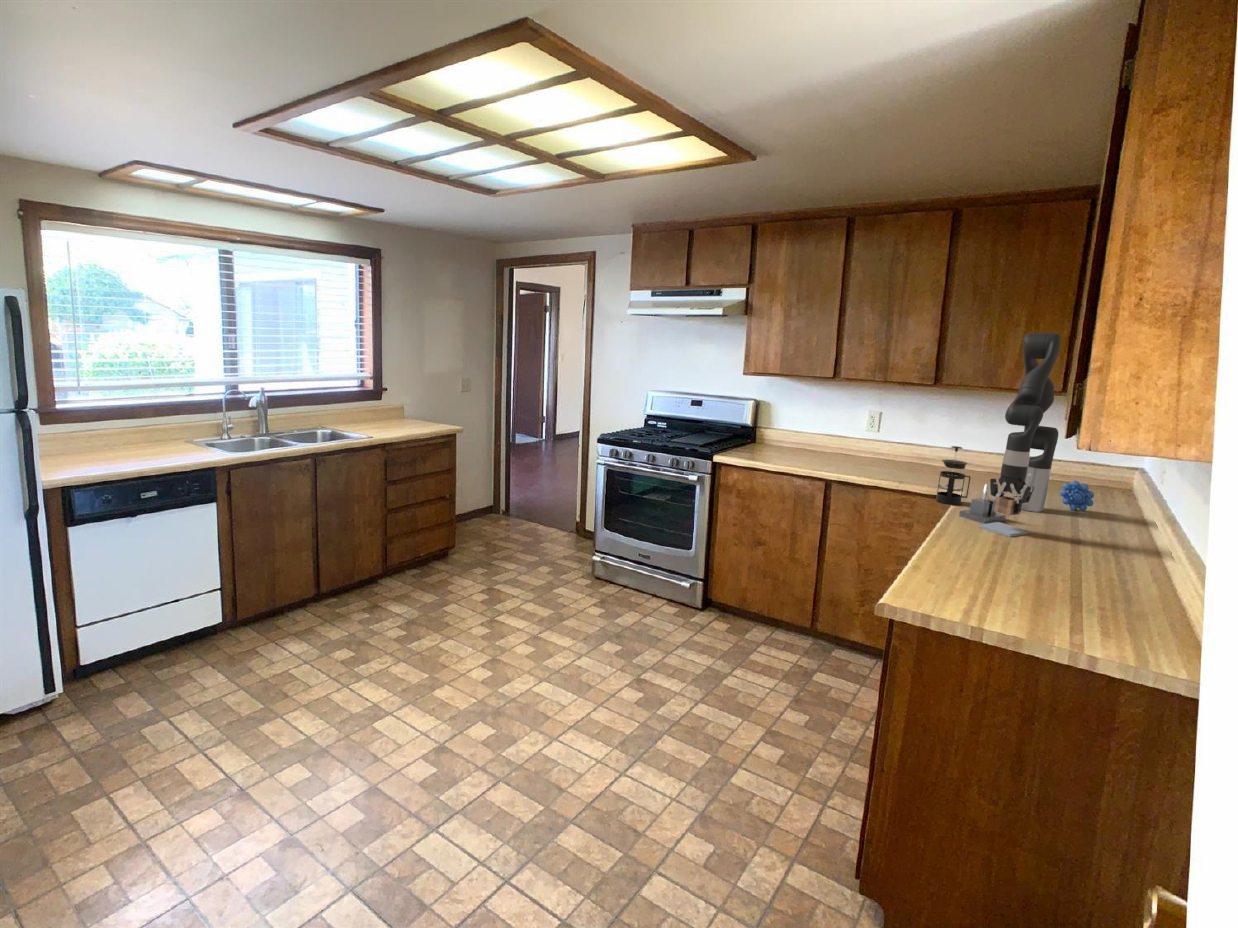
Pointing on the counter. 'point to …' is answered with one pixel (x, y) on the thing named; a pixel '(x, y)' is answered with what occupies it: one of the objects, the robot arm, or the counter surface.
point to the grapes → (1077, 495)
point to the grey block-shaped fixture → (983, 509)
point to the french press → (952, 482)
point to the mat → (1004, 529)
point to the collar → (1005, 505)
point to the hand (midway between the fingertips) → (1006, 511)
